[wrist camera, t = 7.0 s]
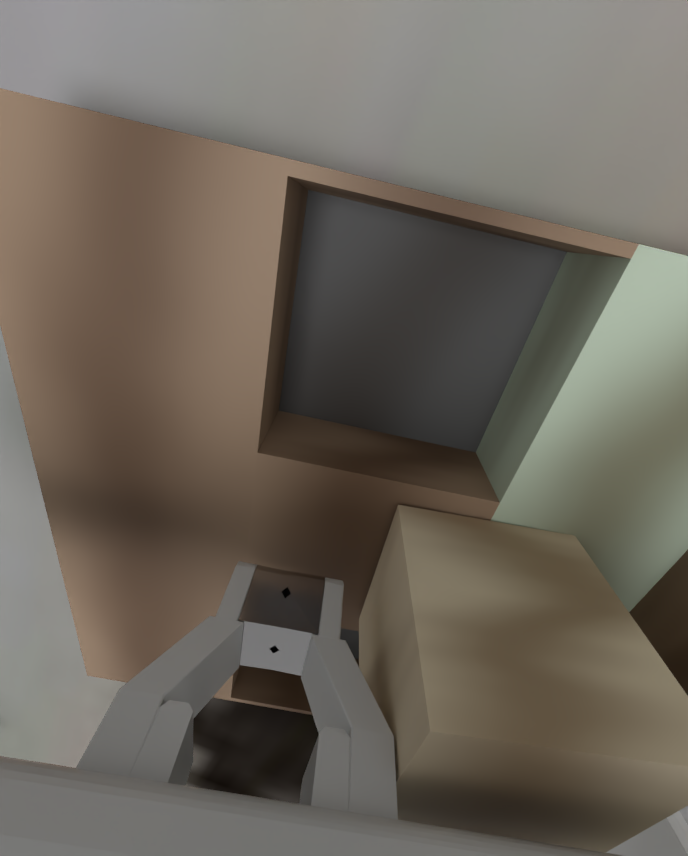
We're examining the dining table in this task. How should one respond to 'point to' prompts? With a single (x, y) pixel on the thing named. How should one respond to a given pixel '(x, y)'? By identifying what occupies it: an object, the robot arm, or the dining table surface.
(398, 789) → the maple block
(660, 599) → the box
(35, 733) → the dining table surface
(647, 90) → the dining table surface
